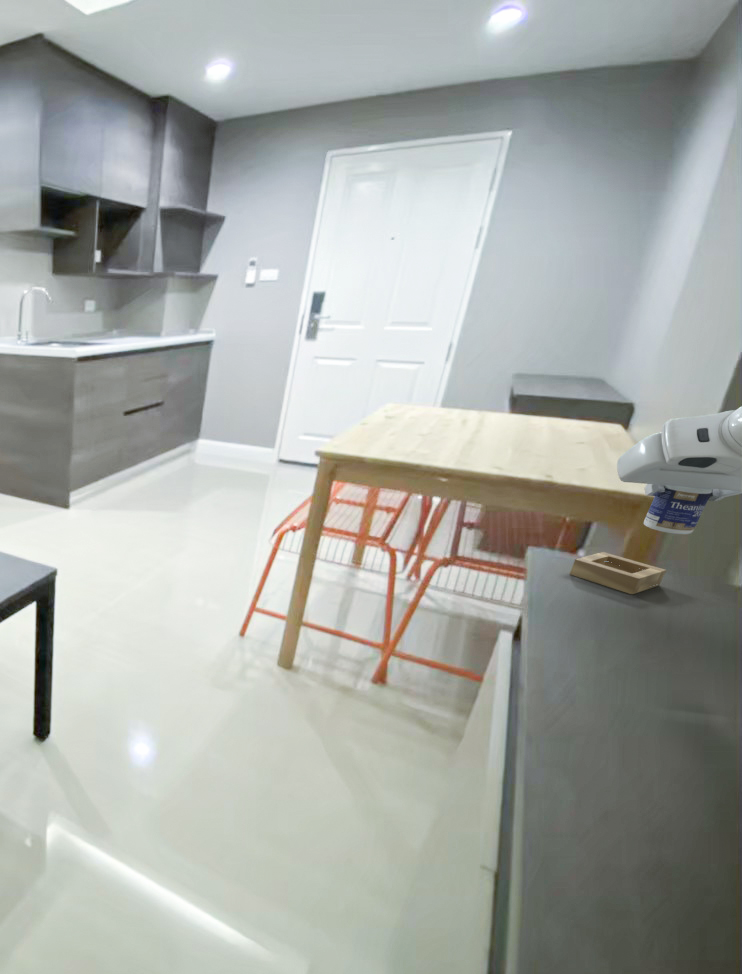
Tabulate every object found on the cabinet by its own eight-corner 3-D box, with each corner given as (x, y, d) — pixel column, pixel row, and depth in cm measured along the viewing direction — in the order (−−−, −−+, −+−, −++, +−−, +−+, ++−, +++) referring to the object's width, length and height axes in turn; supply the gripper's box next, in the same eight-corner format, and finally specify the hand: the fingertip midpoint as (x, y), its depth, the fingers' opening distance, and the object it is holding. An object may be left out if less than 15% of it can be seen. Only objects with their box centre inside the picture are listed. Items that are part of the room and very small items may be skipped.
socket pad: (596, 566, 114) (602, 551, 112) (659, 585, 106) (666, 570, 105) (569, 574, 110) (575, 559, 109) (631, 594, 103) (639, 578, 102)
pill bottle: (658, 533, 91) (686, 470, 87) (633, 522, 96) (659, 461, 92) (702, 536, 90) (732, 472, 86) (674, 524, 95) (702, 463, 91)
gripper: (862, 428, 77) (769, 482, 89) (653, 418, 84) (593, 470, 96) (873, 471, 74) (776, 521, 87) (658, 457, 81) (596, 505, 94)
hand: (679, 494), depth 91 cm, fingers closed on pill bottle, 5 cm apart
